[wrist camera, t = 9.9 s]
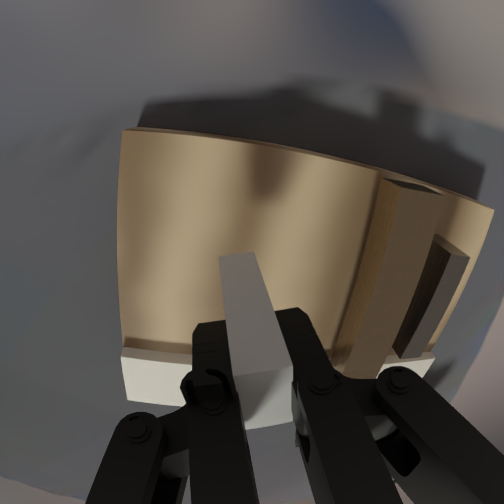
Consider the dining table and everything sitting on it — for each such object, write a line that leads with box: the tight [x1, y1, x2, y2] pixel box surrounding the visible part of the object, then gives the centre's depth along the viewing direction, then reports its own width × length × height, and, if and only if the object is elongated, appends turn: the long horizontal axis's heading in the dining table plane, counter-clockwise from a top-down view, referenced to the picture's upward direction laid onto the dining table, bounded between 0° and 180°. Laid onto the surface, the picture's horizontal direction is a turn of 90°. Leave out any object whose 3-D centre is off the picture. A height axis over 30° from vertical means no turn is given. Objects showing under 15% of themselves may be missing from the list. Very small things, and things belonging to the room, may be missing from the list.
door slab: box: [117, 127, 495, 359], centre depth 20 cm, size 26×14×3 cm, turn 80°
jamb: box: [121, 347, 435, 406], centre depth 23 cm, size 26×5×6 cm, turn 80°
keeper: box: [392, 234, 470, 359], centre depth 18 cm, size 2×8×4 cm, turn 170°
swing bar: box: [330, 177, 444, 379], centre depth 18 cm, size 18×4×3 cm, turn 174°
